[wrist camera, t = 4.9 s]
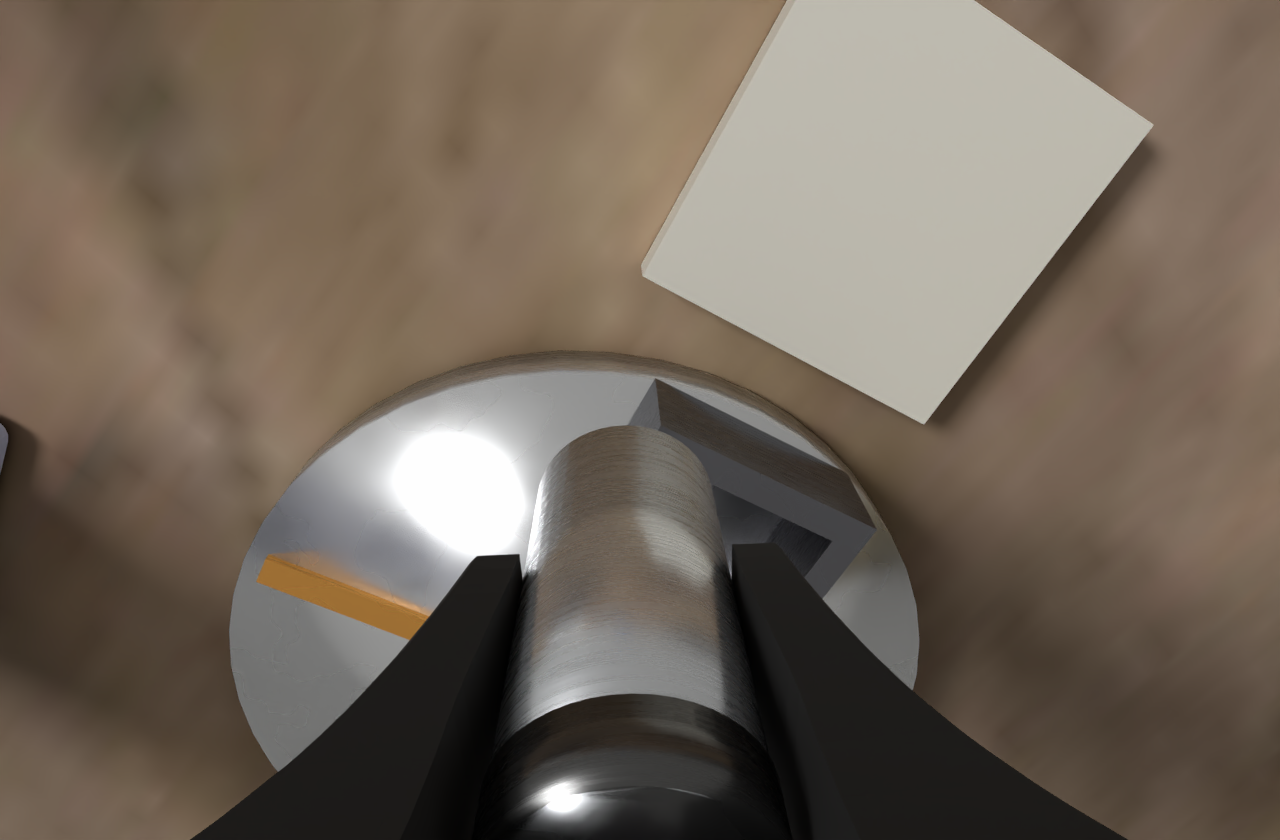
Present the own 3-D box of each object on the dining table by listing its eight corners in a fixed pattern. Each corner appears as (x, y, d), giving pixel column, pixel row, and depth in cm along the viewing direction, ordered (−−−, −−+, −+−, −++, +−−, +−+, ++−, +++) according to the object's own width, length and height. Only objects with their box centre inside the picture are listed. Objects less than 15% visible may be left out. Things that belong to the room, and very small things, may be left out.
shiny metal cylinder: (509, 546, 14) (419, 963, 8) (573, 396, 13) (529, 741, 6) (671, 600, 15) (714, 1029, 8) (746, 460, 13) (864, 834, 7)
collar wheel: (174, 751, 25) (101, 871, 21) (396, 211, 18) (341, 254, 14) (696, 919, 29) (707, 1042, 26) (1037, 536, 22) (1117, 632, 19)
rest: (641, 264, 19) (642, 275, 18) (832, -83, 16) (844, -89, 15) (910, 407, 21) (923, 424, 20) (1126, 120, 18) (1153, 124, 17)
